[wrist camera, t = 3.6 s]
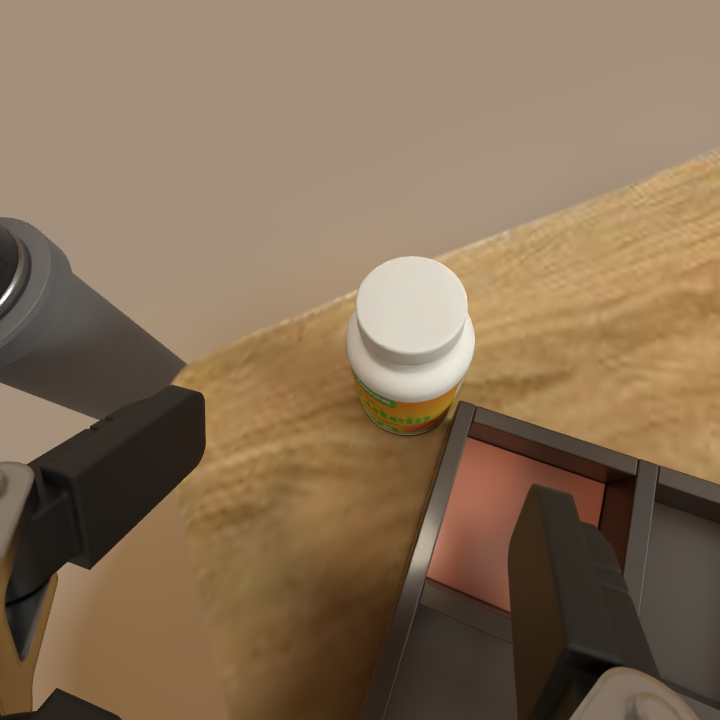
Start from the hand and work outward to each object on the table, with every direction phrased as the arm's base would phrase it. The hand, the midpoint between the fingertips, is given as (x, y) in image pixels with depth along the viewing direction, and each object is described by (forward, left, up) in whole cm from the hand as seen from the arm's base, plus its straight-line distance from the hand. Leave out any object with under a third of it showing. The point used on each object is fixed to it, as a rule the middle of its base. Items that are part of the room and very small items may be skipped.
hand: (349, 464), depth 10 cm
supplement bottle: (0, +6, -13) cm, 14 cm away
